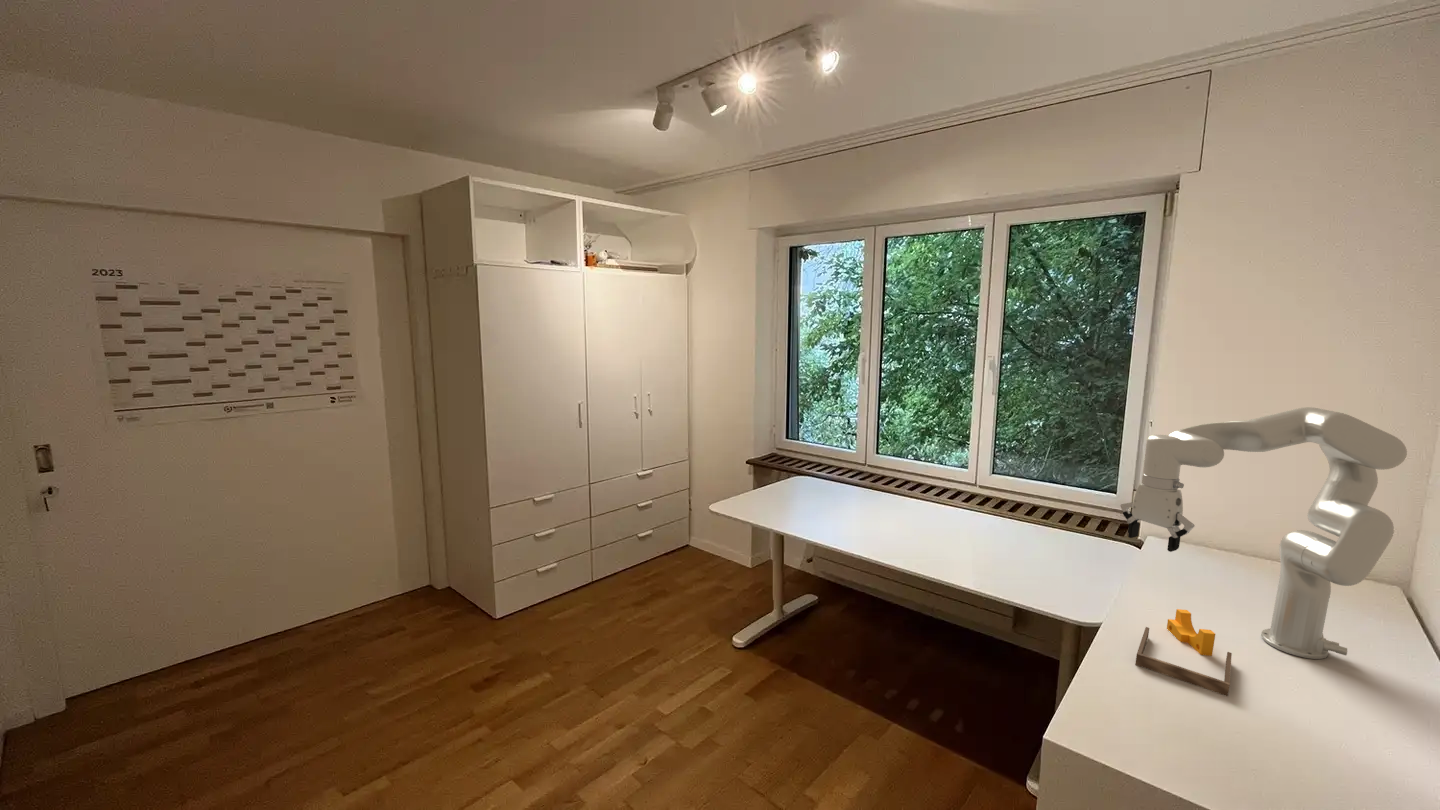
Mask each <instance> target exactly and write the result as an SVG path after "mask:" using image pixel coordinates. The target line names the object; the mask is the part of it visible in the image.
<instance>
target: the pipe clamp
mask: <svg viewBox="0 0 1440 810" xmlns="http://www.w3.org/2000/svg"><path fill="white" fill-rule="evenodd" d="M1174 617H1175V618H1174V619H1173V618H1172V619H1171V618H1168V619H1167V624H1166V630H1167V629H1168V630H1169V631H1170V632H1171V633H1172V634H1173V635H1174V636H1175V637H1176V639H1177V640H1178V641H1179V642H1180V643H1184V644H1185V643H1186V644H1188V645H1189V646H1191V648H1192V649H1193V650H1195V651H1196V653H1198V654H1199V655H1200V656H1206V657H1208V656H1209V657H1213V653H1214V647H1215V639H1216V633H1215V632H1214V631H1213V630H1211V629H1205V628H1199V630H1198V633H1197V631H1196V630H1195V629H1194V625H1193V622H1192V613H1191V612H1190V611H1189V610H1188V609H1179V608H1177V609H1176V611H1175V616H1174ZM1168 630H1167V631H1168ZM1169 631H1168V632H1169ZM1170 632H1169V633H1170ZM1171 633H1170V634H1171ZM1172 634H1171V635H1172ZM1173 635H1172V636H1173ZM1175 637H1174V638H1175Z"/></svg>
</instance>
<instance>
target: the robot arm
mask: <svg viewBox="0 0 1440 810" xmlns="http://www.w3.org/2000/svg"><path fill="white" fill-rule="evenodd" d="M1306 443H1313V444H1317V445H1319V448H1320V450H1321V451H1322V453H1323V455H1324V456H1325V457H1326V458H1325V459H1326V460H1327V462H1328V467H1329V469H1328V471H1329V472H1328V474H1327V478H1326V479H1325V481H1324V483H1323V485H1322V487H1321V488H1320V490H1319V491H1318V494H1316V496H1315V498H1314V501H1313V502H1312V503H1311V505H1310V507H1309V509H1308V511H1307V519H1308V521H1309V522H1310V523H1311V525H1313V526H1314V527H1316V528H1318V529H1320V530H1322V531H1324V532H1327V533H1328V534H1331V535H1333V536H1336V537H1338V538H1337V540H1334V539H1331V538H1329V537H1326V536H1324V535H1322V534H1319V533H1316V532H1313V531H1309V530H1302V529H1300V530H1297V529H1296V530H1292V531H1291V532H1290V531H1289V532H1288V533H1286V534H1285V535H1284V536H1283V537H1282V538H1281V539H1280V543H1279V549H1278V550H1279V559H1280V571H1279V578H1278V583H1277V590H1276V595H1275V601H1274V607H1273V613H1272V617H1271V622H1270V623H1271V625H1270V628H1266V629H1265V628H1264V629H1263V630H1261V633H1260V637H1261V639H1262V640H1263V641H1264V642H1265V643H1267V644H1268V645H1270V646H1271V647H1273V648H1274V649H1276V650H1279V651H1282V652H1284V653H1287V654H1290V655H1292V656H1296V657H1300V658H1305V659H1310V660H1311V659H1312V660H1313V659H1314V660H1323V659H1326V658H1327V657H1328V654H1329V651H1330V652H1333V653H1336V654H1339V655H1343V656H1347V655H1348V647H1345V646H1340V642H1338V641H1337V642H1336V641H1332V640H1329V639H1328V640H1327V638H1325V637H1324V633H1323V632H1324V628H1325V623H1326V617H1327V613H1328V608H1329V602H1330V598H1331V593H1332V586H1331V583H1332V584H1333V585H1334V584H1335V585H1337V586H1342V587H1349V586H1350V587H1351V586H1354V585H1358V584H1360V583H1362V582H1363V581H1364V580H1365V579H1366V578H1367V577H1368V576H1369V575H1370V574H1371V572H1372V570H1373V569H1374V567H1376V564H1377V563H1378V562H1379V560H1380V559H1381V557H1382V555H1383V553H1385V550H1386V549H1387V548H1388V546H1389V544H1390V543H1391V540H1392V539H1393V536H1394V532H1395V531H1394V529H1395V527H1394V523H1393V520H1392V519H1391V517H1390V516H1389V515H1388V514H1386V512H1384V511H1382V510H1380V509H1378V508H1376V507H1372V506H1369V504H1370V501H1371V499H1372V498H1373V496H1374V493H1375V492H1376V490H1377V488H1378V484H1379V482H1378V481H1379V480H1378V478H1379V477H1378V473H1377V470H1390V469H1394V468H1396V467H1398V466H1400V465H1401V464H1403V463H1404V462H1405V460H1406V458H1407V455H1408V451H1407V447H1406V445H1405V443H1404V442H1403V441H1402V440H1401V439H1400V438H1399V437H1397V436H1395V435H1394V434H1391V433H1389V432H1387V431H1384V430H1382V429H1380V428H1378V427H1376V426H1374V425H1371V424H1370V423H1367V422H1365V421H1363V420H1361V419H1360V418H1356V417H1355V416H1352V415H1350V414H1348V413H1347V414H1346V413H1344V412H1339V411H1333V410H1330V409H1329V410H1328V409H1324V408H1323V409H1322V408H1318V407H1312V406H1311V407H1299V408H1294V409H1291V410H1285V411H1281V412H1277V413H1274V414H1273V413H1272V414H1269V415H1265V416H1261V417H1257V418H1252V419H1246V420H1244V419H1243V420H1232V421H1225V422H1224V421H1223V422H1211V423H1204V424H1197V425H1194V426H1189V427H1185V428H1182V429H1178V430H1175V431H1173V432H1171V433H1169V434H1168V435H1167V434H1153V435H1152V434H1151V435H1150V436H1148V437H1147V440H1146V443H1145V454H1144V461H1143V469H1142V478H1141V482H1140V483H1139V484H1138V486H1137V488H1136V491H1135V494H1134V497H1133V500H1132V502H1127V503H1120V505H1119V506H1120V508H1121V511H1122V514H1123V517H1125V520H1126V523H1127V524H1128V526H1127V527H1128V528H1127V534H1128V539H1133V538H1136V537H1137V538H1138V537H1139V530H1140V522H1138V521H1142V522H1144V523H1148V524H1151V525H1153V526H1157V527H1160V528H1164V529H1167V531H1168V533H1170V535H1171V536H1169V537H1168V543H1167V548H1166V549H1167V551H1168V552H1170V553H1172V552H1175V551H1177V550H1179V548H1180V543H1181V537H1184V536H1185V535H1187V534H1189V533H1190V532H1191V531H1192V530H1193V529H1194V528H1195V527H1196V526H1195V525H1196V524H1195V523H1193V522H1192V521H1190V520H1189V519H1188V518H1186V517H1185V516H1183V515H1184V514H1183V513H1184V512H1183V511H1184V506H1183V504H1184V503H1183V493H1182V490H1181V489H1184V486H1185V483H1183V482H1181V481H1180V473H1181V466H1190V467H1196V468H1212V467H1215V466H1217V465H1219V464H1220V463H1221V462H1223V460H1224V458H1225V450H1228V451H1236V452H1237V451H1239V452H1248V453H1249V452H1250V453H1266V452H1269V451H1274V450H1278V449H1281V448H1287V447H1291V446H1296V445H1300V444H1306ZM1130 508H1131V511H1130ZM1181 525H1183V527H1182V529H1181V527H1180V526H1181Z"/></svg>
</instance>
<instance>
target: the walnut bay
mask: <svg viewBox="0 0 1440 810" xmlns="http://www.w3.org/2000/svg"><path fill="white" fill-rule="evenodd" d="M1149 634H1150V627H1149V626H1148V627H1147V626H1145V627H1144V631H1143V634H1142V637H1141V640H1140V643H1139V646H1138V648H1137V653H1136V657H1135V663H1134V664H1135V665H1136V666H1138V667H1141V668H1145V669H1146V670H1150V671H1153V672H1155V673H1159V674H1161V675H1164V676H1167V677H1170V678H1173V679H1175V680H1179V681H1181V682H1184V683H1188V684H1191V685H1194V686H1195V687H1196V686H1197V687H1199V688H1202V689H1204V690H1208V691H1210V692H1213V693H1216V694H1219V695H1223V696H1225V697H1228V696H1229V693H1230V687H1231V686H1230V685H1231V672H1232V669H1231V668H1232V655H1233V653H1232V652H1229V651H1227V654H1226V659H1225V668H1224V679H1223V680H1222V679H1218V678H1215V677H1212V676H1210V675H1206V674H1203V673H1200V672H1197V671H1196V670H1195V671H1194V670H1192V669H1189V668H1185V667H1183V666H1179V665H1176V664H1173V663H1170V662H1168V661H1164V660H1161V659H1157V658H1156V657H1152V656H1150V655H1146V654H1144V651H1145V648H1146V645H1147V643H1148V639H1149Z"/></svg>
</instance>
